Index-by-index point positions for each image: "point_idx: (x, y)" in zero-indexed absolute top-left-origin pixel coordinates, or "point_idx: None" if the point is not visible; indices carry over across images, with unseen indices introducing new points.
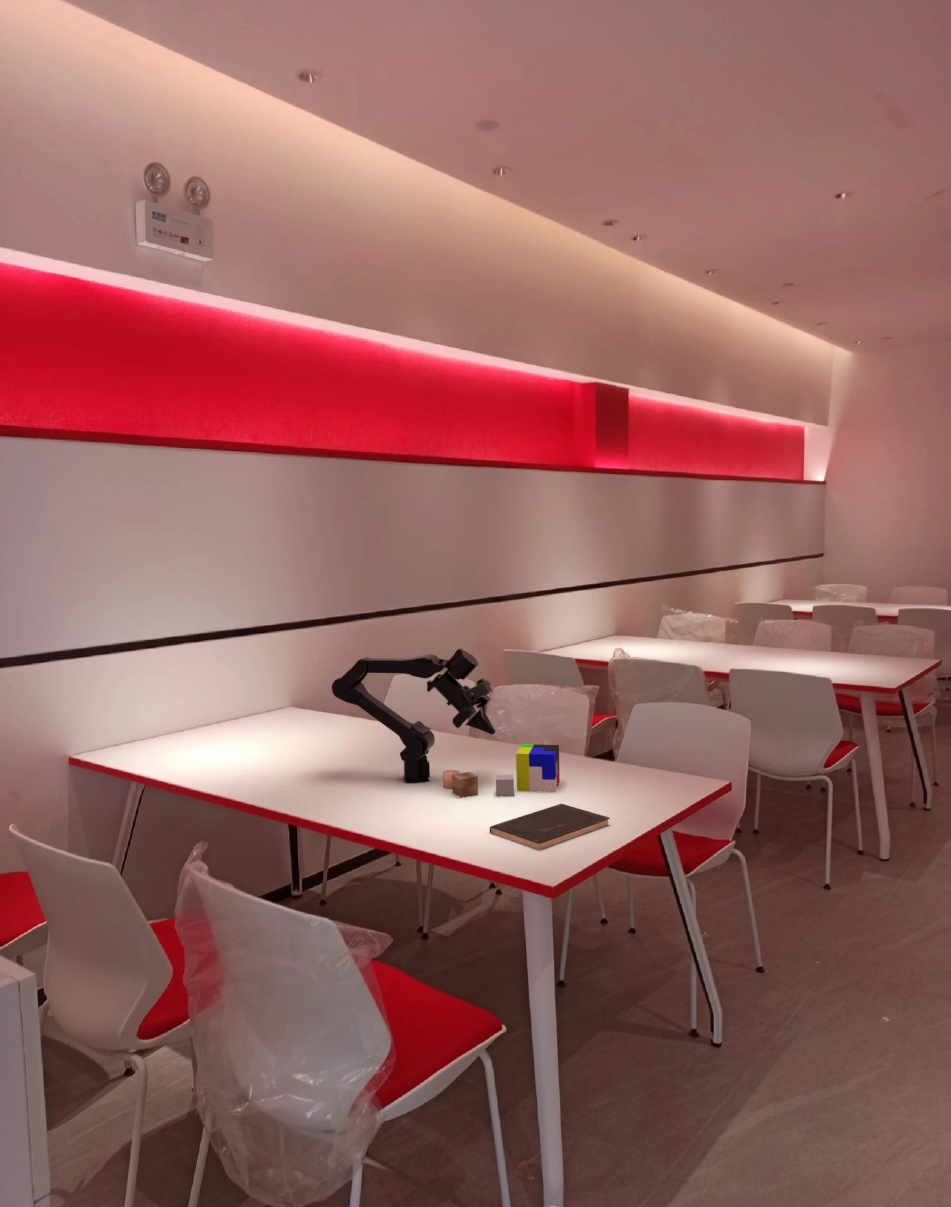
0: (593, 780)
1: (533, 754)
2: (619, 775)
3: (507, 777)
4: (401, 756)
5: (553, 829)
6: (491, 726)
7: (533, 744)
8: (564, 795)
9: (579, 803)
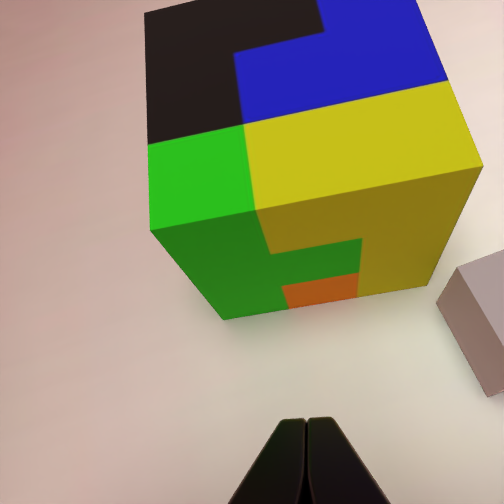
0: None
1: (437, 54)
2: (100, 11)
3: None
4: None
5: None
6: (324, 488)
7: (148, 148)
8: None
9: (493, 4)
